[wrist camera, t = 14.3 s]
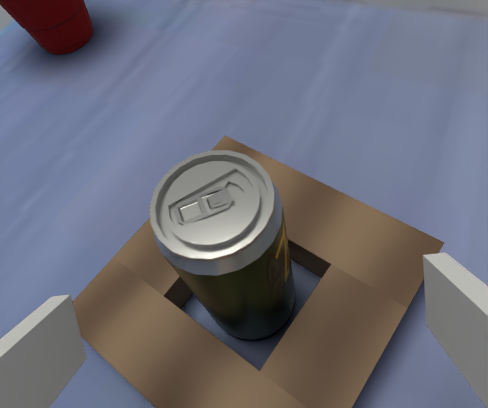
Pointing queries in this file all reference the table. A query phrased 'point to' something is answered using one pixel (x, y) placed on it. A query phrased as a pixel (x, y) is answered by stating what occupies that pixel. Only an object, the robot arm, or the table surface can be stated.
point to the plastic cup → (53, 22)
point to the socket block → (299, 332)
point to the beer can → (227, 240)
